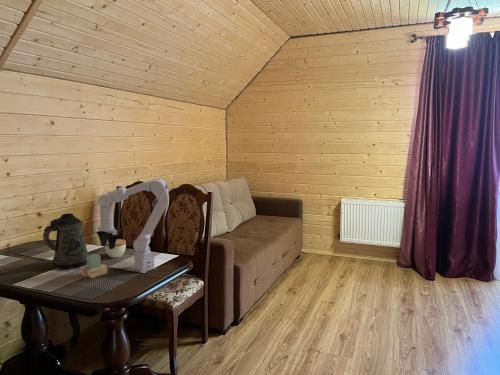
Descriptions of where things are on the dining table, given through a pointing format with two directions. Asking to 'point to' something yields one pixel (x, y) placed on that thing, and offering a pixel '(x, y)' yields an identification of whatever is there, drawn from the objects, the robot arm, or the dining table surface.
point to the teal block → (93, 261)
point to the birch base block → (93, 271)
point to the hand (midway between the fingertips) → (107, 247)
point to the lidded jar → (116, 249)
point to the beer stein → (67, 242)
